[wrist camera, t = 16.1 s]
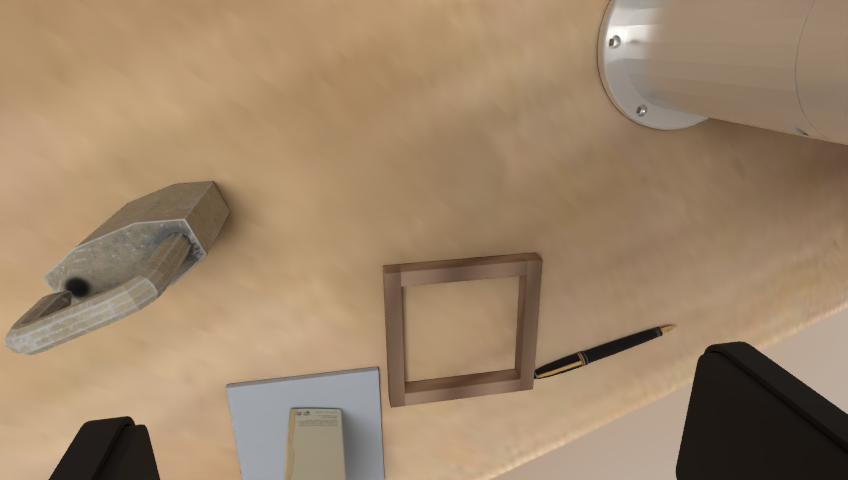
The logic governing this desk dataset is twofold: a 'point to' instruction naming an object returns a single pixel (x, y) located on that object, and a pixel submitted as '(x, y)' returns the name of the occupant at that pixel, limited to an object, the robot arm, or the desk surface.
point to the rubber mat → (272, 400)
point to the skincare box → (314, 445)
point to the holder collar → (455, 271)
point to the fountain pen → (598, 353)
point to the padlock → (123, 265)
